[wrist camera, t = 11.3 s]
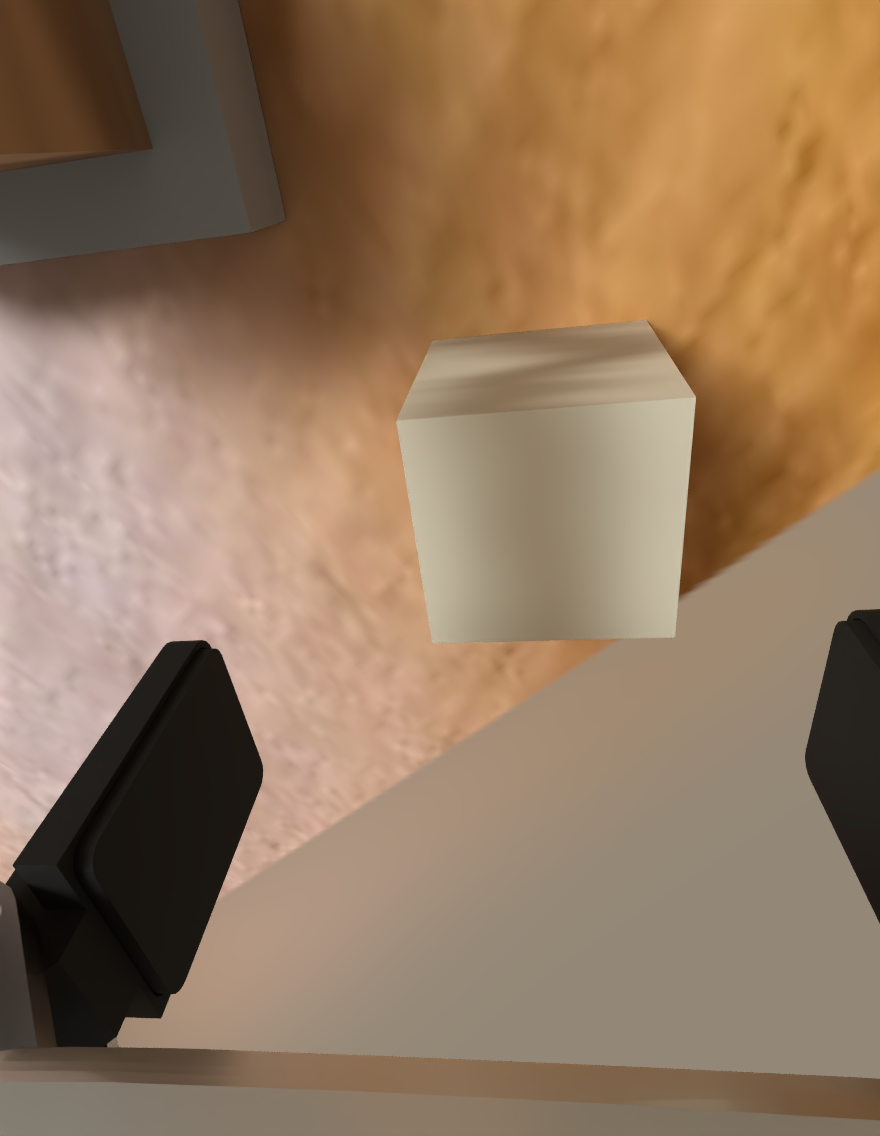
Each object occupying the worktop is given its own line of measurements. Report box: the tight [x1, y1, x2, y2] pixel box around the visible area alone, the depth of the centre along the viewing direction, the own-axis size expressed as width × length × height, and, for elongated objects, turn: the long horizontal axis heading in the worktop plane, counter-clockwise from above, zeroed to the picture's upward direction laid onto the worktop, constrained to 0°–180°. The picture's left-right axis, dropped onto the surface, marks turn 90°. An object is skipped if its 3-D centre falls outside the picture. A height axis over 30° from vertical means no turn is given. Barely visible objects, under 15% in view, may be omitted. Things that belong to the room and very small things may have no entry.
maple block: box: [396, 320, 696, 643], centre depth 16 cm, size 6×6×6 cm
